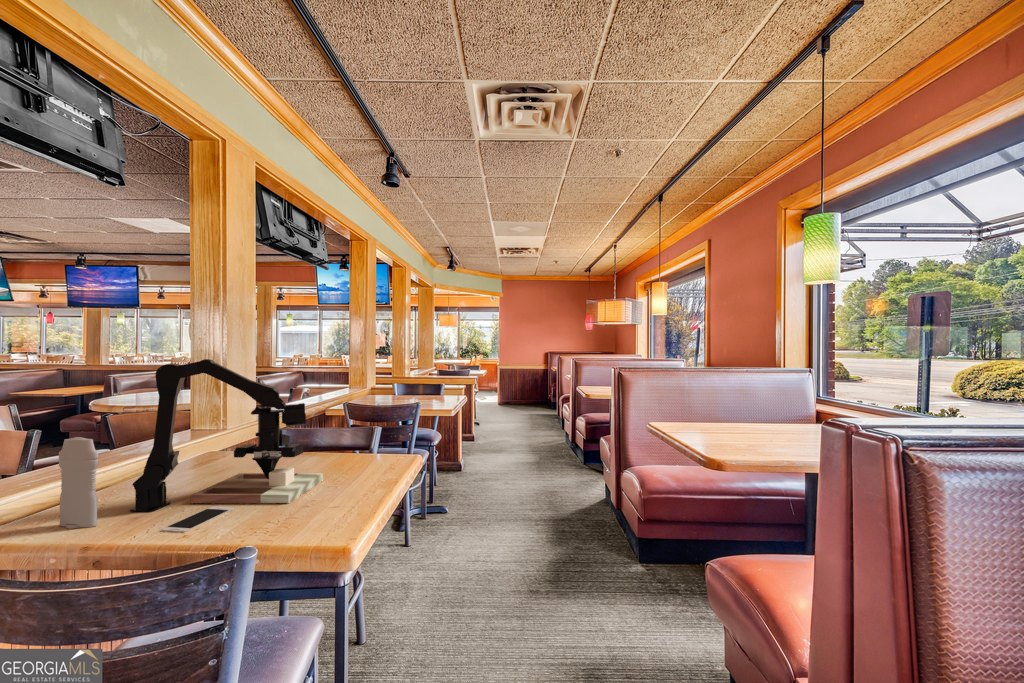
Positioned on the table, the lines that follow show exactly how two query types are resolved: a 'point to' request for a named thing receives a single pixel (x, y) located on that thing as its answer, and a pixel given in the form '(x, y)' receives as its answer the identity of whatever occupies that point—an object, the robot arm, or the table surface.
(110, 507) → the table surface
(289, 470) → the block
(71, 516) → the tall pale column
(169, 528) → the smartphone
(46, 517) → the table surface
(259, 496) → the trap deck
